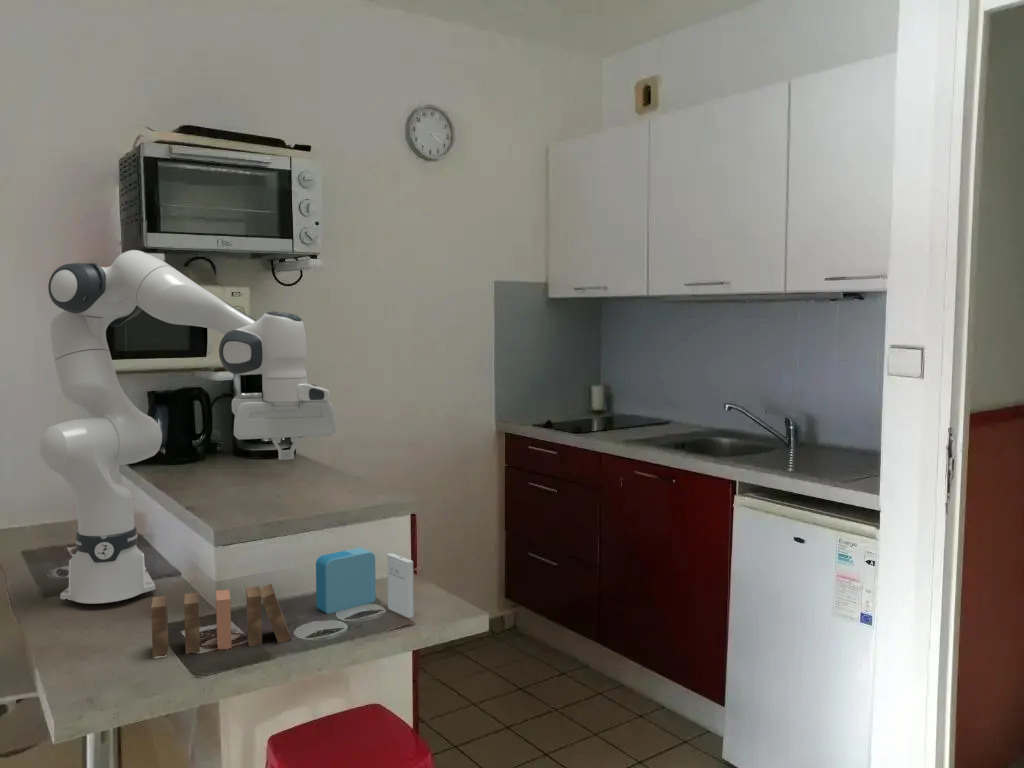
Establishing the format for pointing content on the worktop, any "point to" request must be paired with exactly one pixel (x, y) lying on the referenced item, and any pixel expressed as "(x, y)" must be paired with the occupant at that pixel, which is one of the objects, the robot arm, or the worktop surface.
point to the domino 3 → (223, 619)
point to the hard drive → (400, 585)
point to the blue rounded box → (345, 580)
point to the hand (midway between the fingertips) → (286, 459)
